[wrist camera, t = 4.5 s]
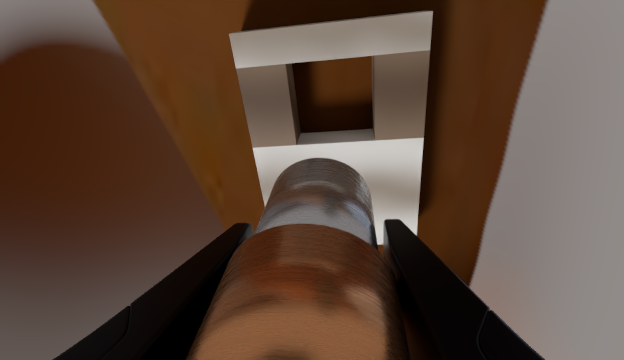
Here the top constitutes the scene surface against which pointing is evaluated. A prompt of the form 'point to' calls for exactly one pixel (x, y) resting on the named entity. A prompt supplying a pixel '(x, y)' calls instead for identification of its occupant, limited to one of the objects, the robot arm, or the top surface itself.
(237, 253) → the brown round tapered piece
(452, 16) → the top surface
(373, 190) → the white block
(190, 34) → the top surface
